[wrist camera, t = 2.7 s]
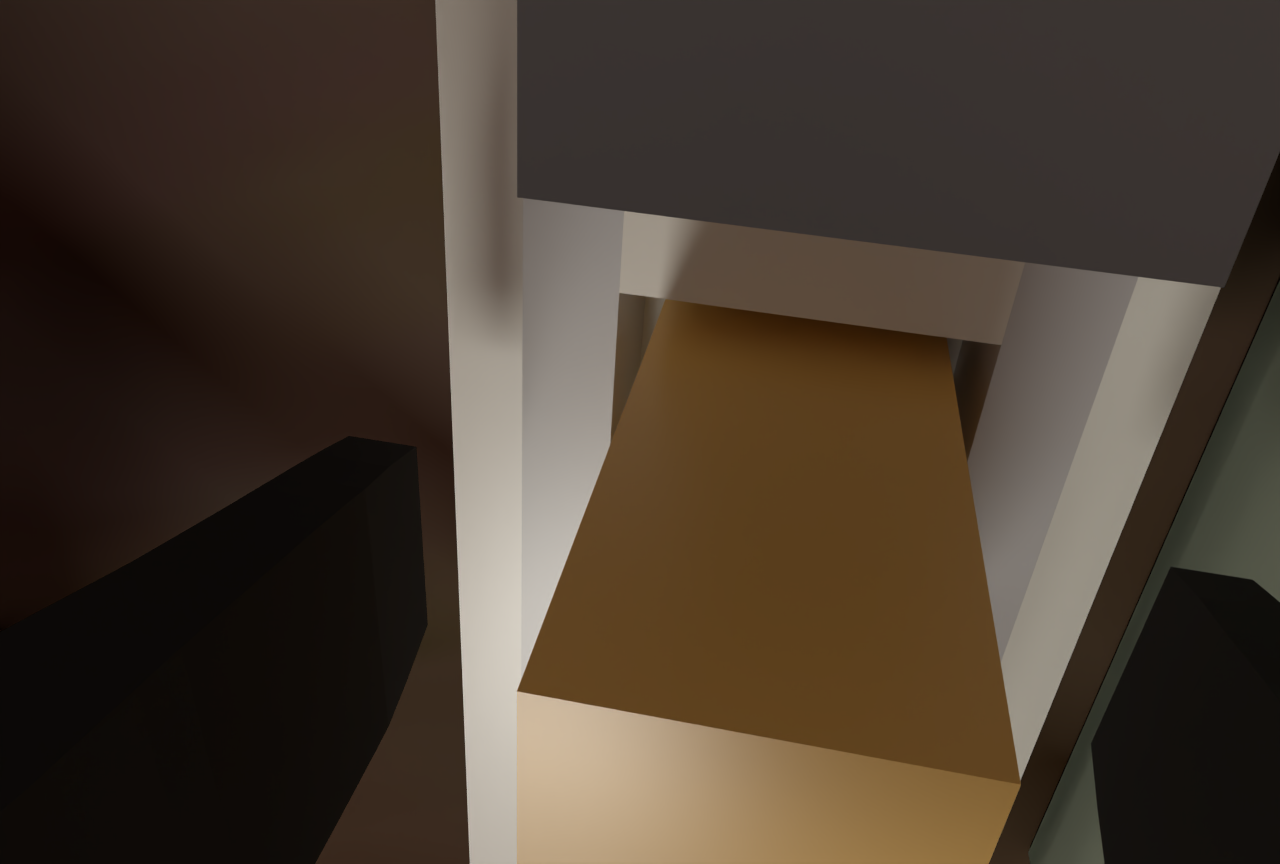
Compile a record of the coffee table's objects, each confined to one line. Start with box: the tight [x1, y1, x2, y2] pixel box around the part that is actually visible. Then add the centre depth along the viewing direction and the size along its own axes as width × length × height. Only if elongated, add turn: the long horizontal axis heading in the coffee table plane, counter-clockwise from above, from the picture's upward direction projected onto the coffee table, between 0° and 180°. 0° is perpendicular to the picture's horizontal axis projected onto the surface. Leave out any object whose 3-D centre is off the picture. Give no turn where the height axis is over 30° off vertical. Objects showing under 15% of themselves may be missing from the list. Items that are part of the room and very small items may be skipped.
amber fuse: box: [517, 299, 1021, 864], centre depth 8 cm, size 2×4×6 cm, turn 176°
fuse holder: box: [435, 0, 1221, 864], centre depth 10 cm, size 7×20×2 cm, turn 176°
